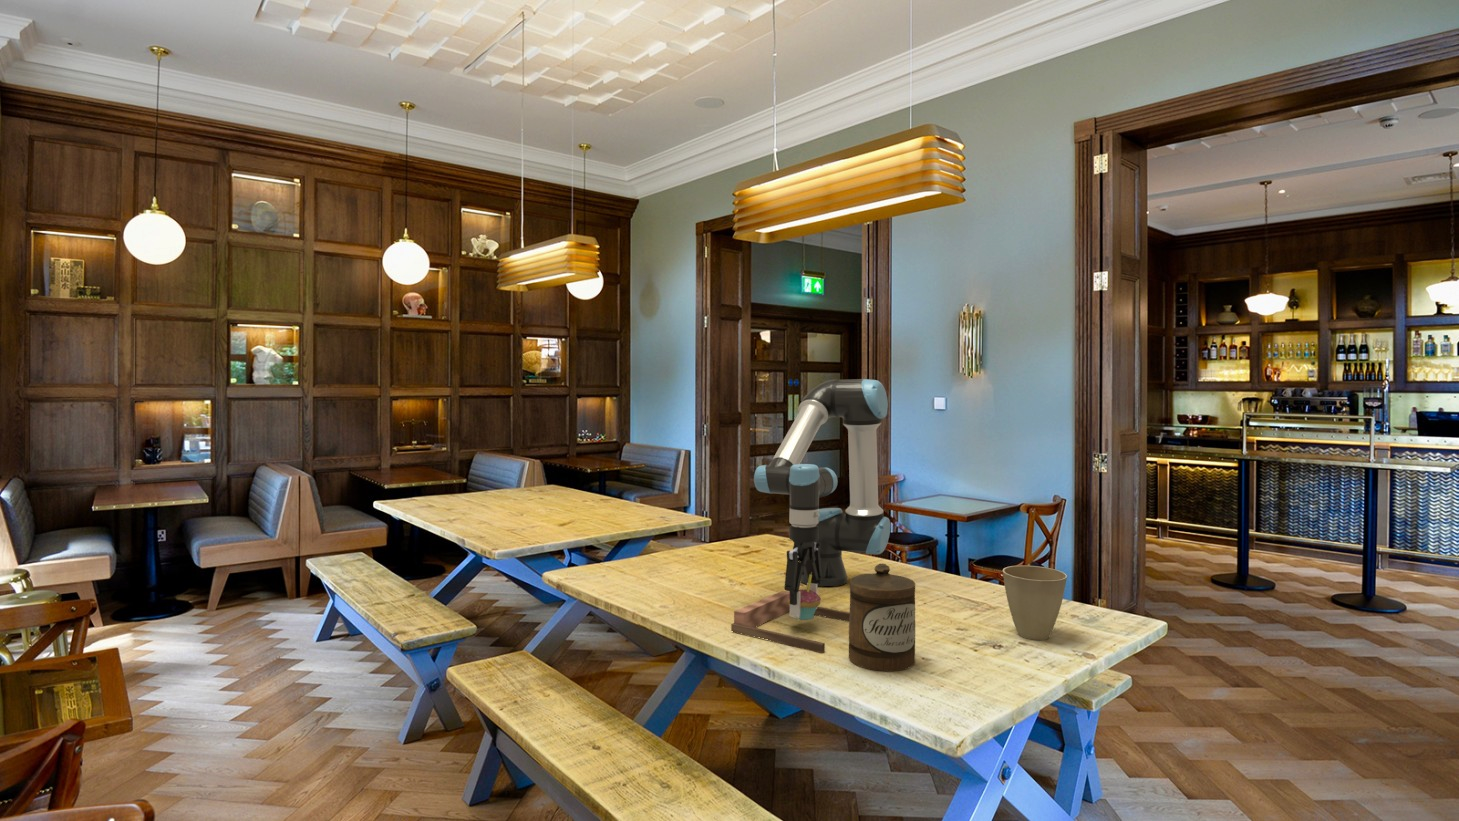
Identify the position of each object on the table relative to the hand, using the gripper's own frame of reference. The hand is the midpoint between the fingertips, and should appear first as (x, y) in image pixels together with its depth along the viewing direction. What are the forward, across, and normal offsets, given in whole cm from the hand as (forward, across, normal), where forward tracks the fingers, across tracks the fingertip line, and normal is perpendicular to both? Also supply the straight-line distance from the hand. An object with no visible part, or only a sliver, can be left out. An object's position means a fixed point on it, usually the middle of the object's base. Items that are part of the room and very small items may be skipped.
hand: (803, 612), depth 194 cm
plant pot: (+4, +28, -50) cm, 58 cm away
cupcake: (+2, 0, 0) cm, 2 cm away
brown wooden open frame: (+4, 0, 0) cm, 4 cm away
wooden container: (+4, -10, -26) cm, 28 cm away
